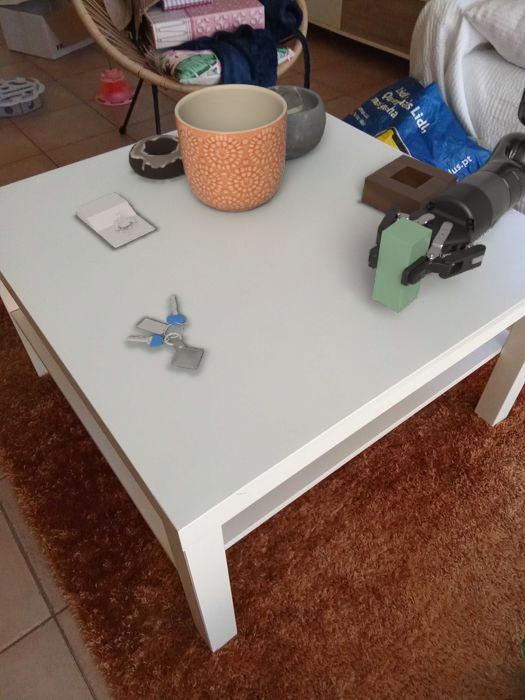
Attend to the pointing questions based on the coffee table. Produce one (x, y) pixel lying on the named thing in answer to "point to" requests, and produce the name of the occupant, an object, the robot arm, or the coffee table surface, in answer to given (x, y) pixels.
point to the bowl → (302, 119)
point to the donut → (157, 157)
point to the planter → (233, 144)
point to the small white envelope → (114, 219)
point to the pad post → (399, 262)
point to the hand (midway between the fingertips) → (388, 270)
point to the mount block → (405, 185)
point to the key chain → (184, 354)
